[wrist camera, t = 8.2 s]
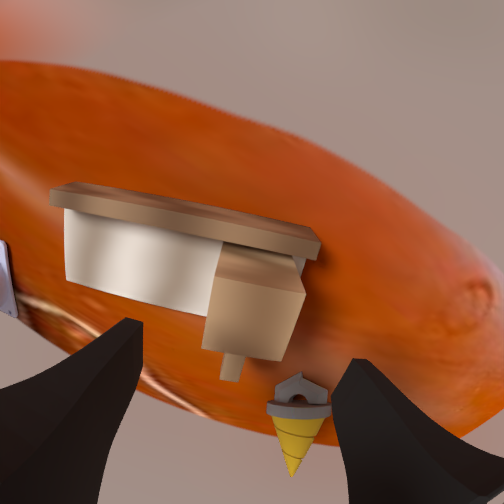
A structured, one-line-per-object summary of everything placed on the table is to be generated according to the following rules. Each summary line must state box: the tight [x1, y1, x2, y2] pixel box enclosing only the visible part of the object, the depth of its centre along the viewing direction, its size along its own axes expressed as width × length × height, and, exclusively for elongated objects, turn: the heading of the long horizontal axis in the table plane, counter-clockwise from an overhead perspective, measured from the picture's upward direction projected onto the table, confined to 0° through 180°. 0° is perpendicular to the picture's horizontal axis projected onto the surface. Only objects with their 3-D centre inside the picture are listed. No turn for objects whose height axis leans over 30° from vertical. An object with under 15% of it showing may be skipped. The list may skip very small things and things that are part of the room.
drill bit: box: [266, 371, 332, 477], centre depth 20 cm, size 5×5×10 cm
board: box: [49, 182, 321, 317], centre depth 17 cm, size 16×7×3 cm, turn 77°
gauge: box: [201, 241, 306, 382], centre depth 16 cm, size 4×8×5 cm, turn 167°
